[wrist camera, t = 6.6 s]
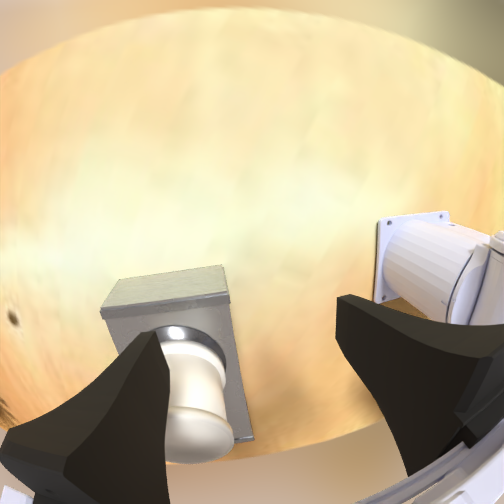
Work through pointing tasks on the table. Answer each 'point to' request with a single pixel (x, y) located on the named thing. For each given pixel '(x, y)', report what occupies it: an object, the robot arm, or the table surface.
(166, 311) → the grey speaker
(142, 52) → the table surface
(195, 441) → the white cabinet knob
